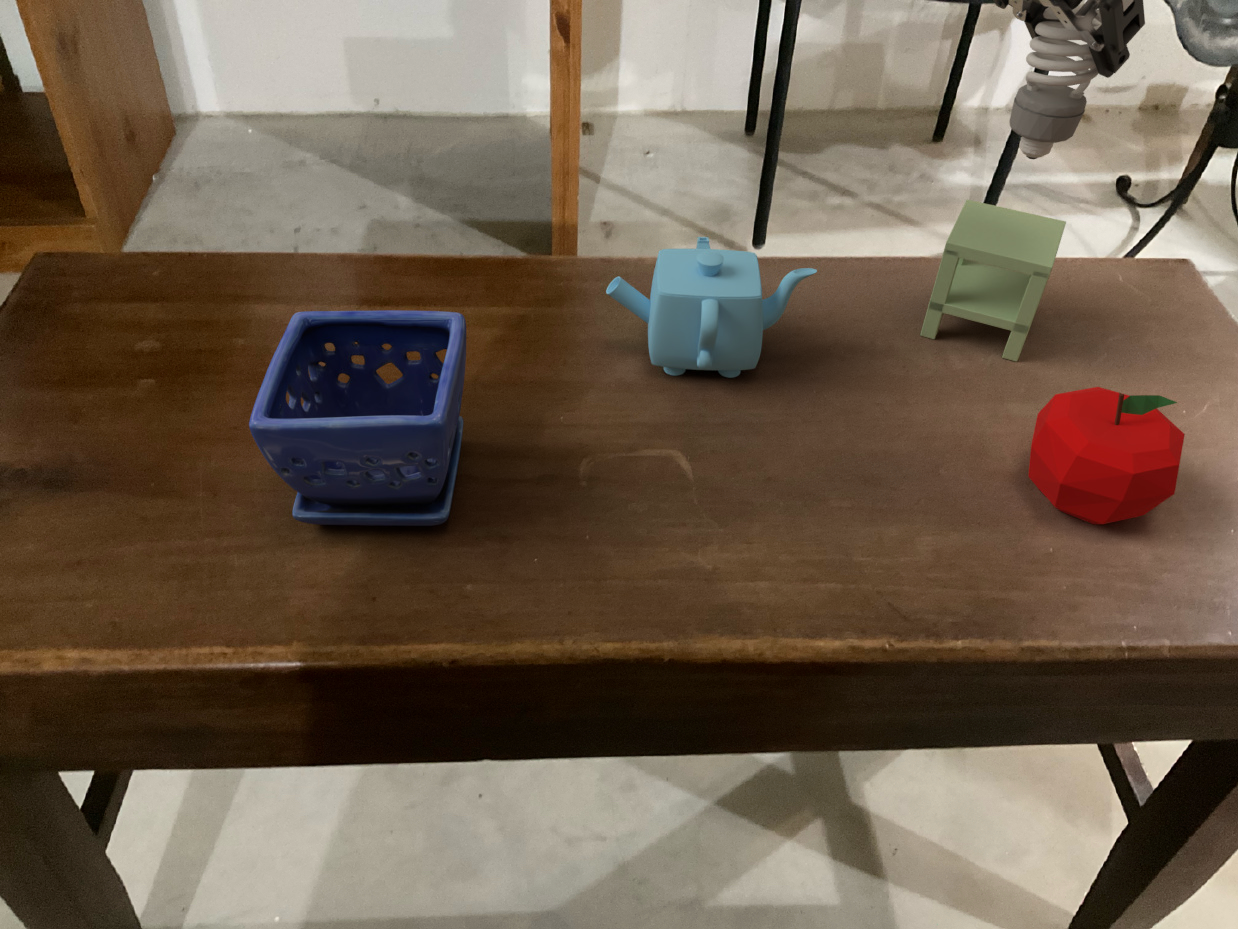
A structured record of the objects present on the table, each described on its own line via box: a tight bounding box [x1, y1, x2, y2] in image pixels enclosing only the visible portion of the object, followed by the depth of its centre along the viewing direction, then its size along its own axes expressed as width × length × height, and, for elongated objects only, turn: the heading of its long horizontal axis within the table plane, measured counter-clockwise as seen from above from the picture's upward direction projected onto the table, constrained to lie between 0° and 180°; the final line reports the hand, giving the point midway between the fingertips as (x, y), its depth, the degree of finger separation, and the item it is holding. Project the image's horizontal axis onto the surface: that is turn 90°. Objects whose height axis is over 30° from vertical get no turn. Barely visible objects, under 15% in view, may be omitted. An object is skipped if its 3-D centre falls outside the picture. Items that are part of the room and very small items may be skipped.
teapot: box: [605, 236, 818, 379], centre depth 85 cm, size 18×14×10 cm
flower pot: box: [248, 309, 467, 527], centre depth 70 cm, size 13×13×12 cm
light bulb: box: [1009, 3, 1102, 160], centre depth 75 cm, size 6×6×12 cm
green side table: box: [919, 199, 1067, 363], centre depth 89 cm, size 9×9×10 cm
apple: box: [1027, 386, 1186, 525], centre depth 72 cm, size 11×11×10 cm
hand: (1081, 52), depth 74 cm, fingers closed on light bulb, 5 cm apart
